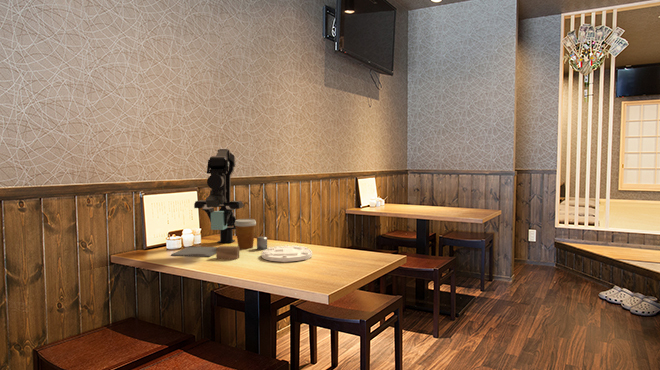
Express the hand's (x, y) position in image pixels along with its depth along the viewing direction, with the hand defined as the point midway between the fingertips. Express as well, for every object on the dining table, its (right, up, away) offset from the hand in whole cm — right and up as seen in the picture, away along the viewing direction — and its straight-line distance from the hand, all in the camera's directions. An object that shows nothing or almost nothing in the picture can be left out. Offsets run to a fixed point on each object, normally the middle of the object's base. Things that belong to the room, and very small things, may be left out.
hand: (219, 225), depth 176 cm
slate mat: (-9, -11, +2) cm, 14 cm away
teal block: (0, -1, 0) cm, 1 cm away
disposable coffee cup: (+9, -11, +11) cm, 18 cm away
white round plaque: (+29, -12, -6) cm, 32 cm away
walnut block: (+6, -12, -9) cm, 16 cm away
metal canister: (+16, -11, +8) cm, 21 cm away
